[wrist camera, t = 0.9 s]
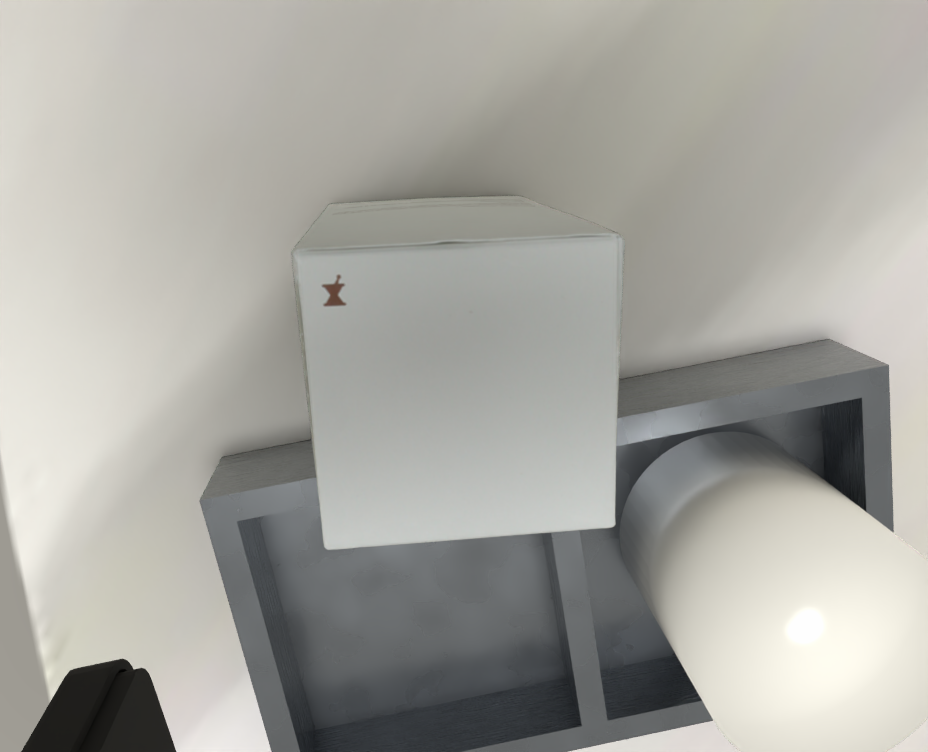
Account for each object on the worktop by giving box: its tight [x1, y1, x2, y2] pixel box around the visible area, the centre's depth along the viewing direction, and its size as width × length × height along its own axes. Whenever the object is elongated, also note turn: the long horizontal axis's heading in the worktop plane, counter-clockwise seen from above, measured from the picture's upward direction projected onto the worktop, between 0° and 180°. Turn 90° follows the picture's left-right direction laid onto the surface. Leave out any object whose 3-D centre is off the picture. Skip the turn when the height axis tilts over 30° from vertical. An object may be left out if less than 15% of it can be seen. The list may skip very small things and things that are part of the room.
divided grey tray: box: [200, 339, 894, 752], centre depth 32 cm, size 13×24×4 cm, turn 100°
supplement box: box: [291, 196, 625, 550], centre depth 25 cm, size 7×7×13 cm
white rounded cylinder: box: [620, 432, 928, 752], centre depth 29 cm, size 8×8×9 cm
